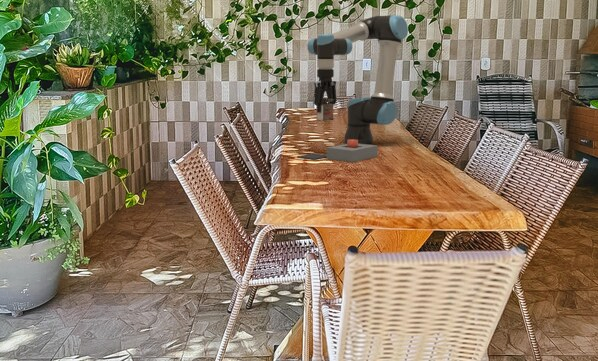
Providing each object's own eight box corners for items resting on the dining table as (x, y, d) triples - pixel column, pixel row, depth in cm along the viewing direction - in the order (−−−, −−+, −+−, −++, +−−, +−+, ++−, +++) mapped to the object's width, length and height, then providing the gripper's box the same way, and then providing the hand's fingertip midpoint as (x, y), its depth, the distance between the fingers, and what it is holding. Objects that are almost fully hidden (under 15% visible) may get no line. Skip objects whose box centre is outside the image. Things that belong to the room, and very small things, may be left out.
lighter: (317, 120, 320) (317, 99, 319) (315, 120, 324) (315, 98, 322) (334, 120, 323) (334, 98, 321) (332, 119, 326) (332, 98, 324)
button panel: (351, 153, 326) (351, 142, 325) (377, 156, 317) (377, 145, 316) (326, 158, 311) (326, 147, 310) (352, 162, 302) (353, 150, 301)
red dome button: (351, 149, 317) (351, 139, 316) (359, 151, 314) (360, 139, 313) (345, 151, 313) (345, 140, 312) (353, 152, 310) (354, 140, 309)
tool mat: (313, 154, 322) (313, 153, 322) (330, 156, 316) (330, 155, 316) (296, 157, 313) (296, 156, 313) (314, 160, 307) (314, 158, 307)
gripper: (331, 67, 328) (331, 116, 333) (305, 69, 313) (305, 120, 318) (344, 68, 324) (344, 117, 328) (318, 69, 309) (318, 121, 313)
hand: (325, 118), depth 323 cm, fingers closed on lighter, 7 cm apart
